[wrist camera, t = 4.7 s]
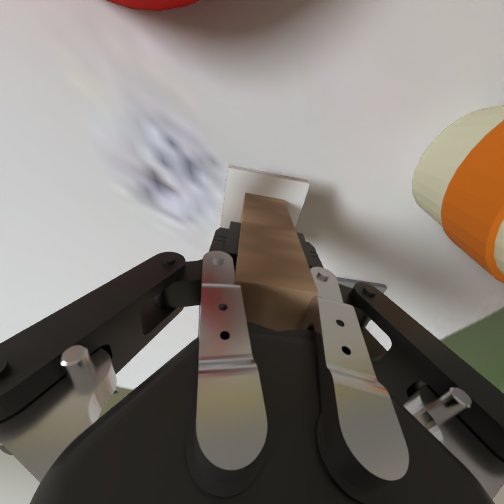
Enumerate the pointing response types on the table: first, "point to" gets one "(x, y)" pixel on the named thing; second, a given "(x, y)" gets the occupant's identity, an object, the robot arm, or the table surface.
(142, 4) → the toy clock
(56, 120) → the table surface
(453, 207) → the reusable coffee cup
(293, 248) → the scraper
